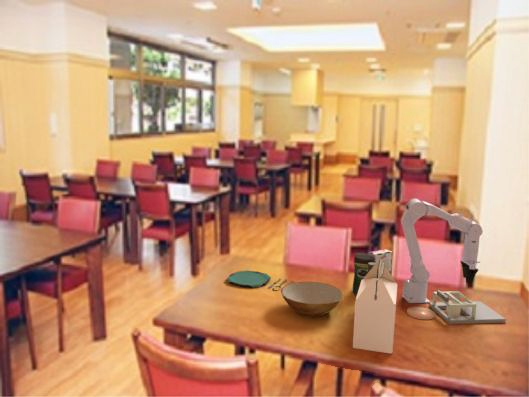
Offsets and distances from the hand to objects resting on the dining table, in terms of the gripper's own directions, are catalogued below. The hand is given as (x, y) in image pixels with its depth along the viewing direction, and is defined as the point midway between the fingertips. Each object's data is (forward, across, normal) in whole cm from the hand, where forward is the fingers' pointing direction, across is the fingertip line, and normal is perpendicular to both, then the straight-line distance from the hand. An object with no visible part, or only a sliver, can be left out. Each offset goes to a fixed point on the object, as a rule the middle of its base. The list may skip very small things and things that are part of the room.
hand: (467, 280), depth 209 cm
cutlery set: (+11, -2, +92) cm, 92 cm away
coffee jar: (+10, -3, +43) cm, 45 cm away
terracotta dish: (+10, -19, +20) cm, 29 cm away
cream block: (+10, -15, +7) cm, 19 cm away
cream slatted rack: (+8, -15, +7) cm, 19 cm away
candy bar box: (+10, +11, +37) cm, 40 cm away
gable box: (+10, -45, +37) cm, 60 cm away
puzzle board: (+10, -13, +1) cm, 16 cm away
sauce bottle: (+10, -21, +40) cm, 46 cm away
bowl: (+11, -28, +63) cm, 70 cm away
